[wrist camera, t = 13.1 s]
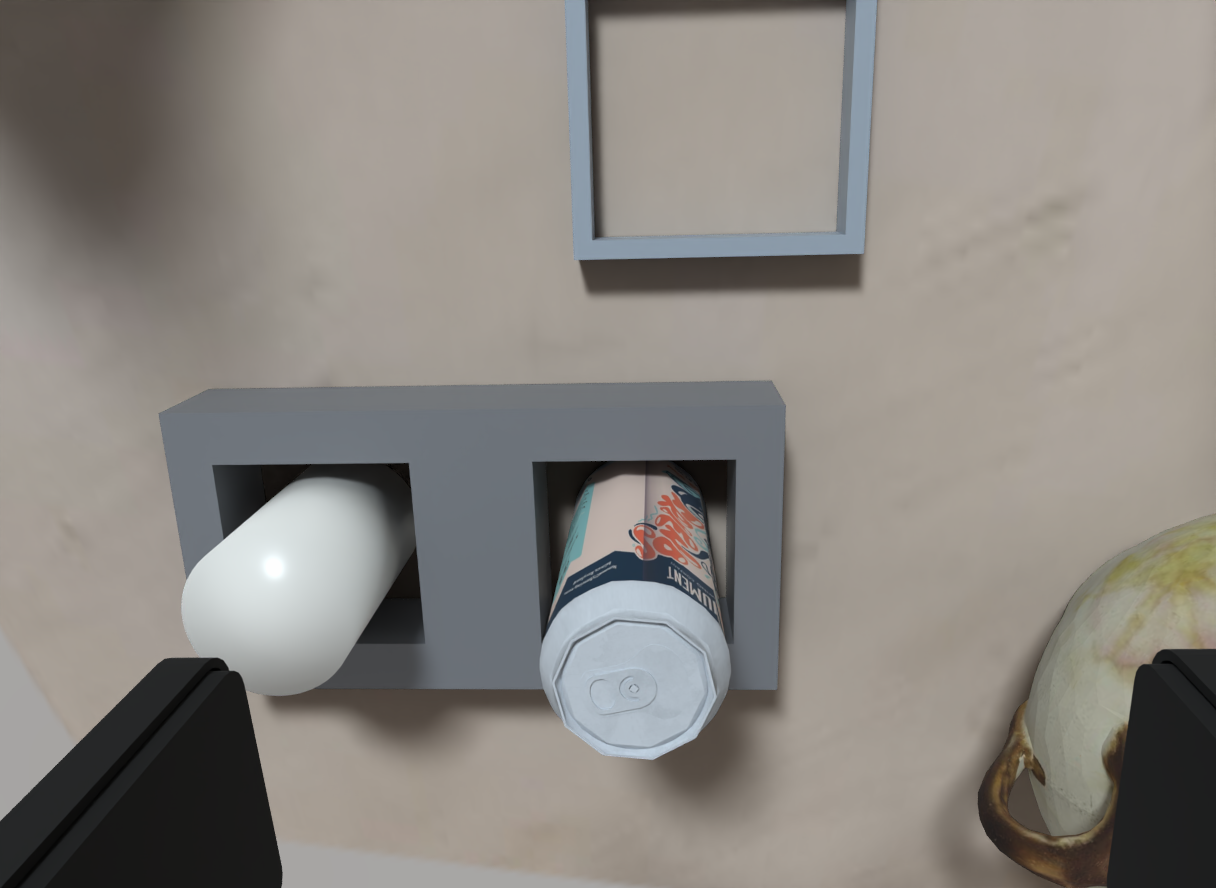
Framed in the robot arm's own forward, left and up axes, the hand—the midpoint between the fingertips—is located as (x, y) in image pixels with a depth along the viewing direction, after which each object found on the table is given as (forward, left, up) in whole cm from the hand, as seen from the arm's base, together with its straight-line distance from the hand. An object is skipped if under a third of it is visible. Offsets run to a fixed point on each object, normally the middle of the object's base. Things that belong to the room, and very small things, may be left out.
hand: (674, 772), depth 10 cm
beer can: (+1, +6, -23) cm, 24 cm away
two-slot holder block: (+6, +6, -23) cm, 25 cm away
